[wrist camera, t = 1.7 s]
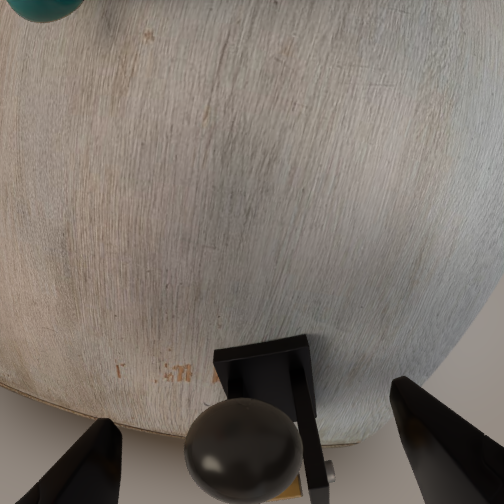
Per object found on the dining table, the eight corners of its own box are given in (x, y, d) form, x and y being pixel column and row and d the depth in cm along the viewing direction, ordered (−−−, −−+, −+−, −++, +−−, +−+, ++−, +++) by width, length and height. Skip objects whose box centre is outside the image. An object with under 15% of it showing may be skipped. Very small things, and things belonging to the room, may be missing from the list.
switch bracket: (213, 349, 20) (203, 487, 11) (305, 333, 20) (340, 469, 11) (240, 418, 23) (243, 527, 14) (314, 406, 23) (337, 514, 14)
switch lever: (166, 386, 7) (165, 504, 5) (289, 370, 7) (310, 495, 5) (252, 462, 16) (258, 508, 14) (304, 454, 16) (312, 500, 14)
